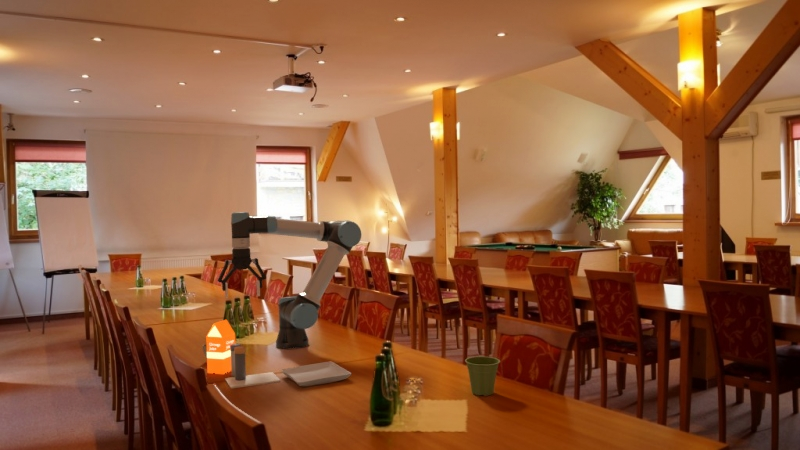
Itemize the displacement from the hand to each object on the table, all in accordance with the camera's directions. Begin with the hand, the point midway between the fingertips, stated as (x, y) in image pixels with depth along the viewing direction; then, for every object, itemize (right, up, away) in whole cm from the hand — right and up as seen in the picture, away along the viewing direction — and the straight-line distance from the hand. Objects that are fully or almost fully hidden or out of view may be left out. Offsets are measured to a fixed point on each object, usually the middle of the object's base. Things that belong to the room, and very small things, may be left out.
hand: (242, 297), depth 270 cm
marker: (+8, -27, -34) cm, 44 cm away
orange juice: (-4, -28, -19) cm, 34 cm away
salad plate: (+36, -28, -34) cm, 56 cm away
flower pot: (-11, -27, -2) cm, 30 cm away
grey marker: (+4, -27, -26) cm, 38 cm away
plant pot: (+96, -26, -57) cm, 115 cm away
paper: (+12, -28, -34) cm, 46 cm away
